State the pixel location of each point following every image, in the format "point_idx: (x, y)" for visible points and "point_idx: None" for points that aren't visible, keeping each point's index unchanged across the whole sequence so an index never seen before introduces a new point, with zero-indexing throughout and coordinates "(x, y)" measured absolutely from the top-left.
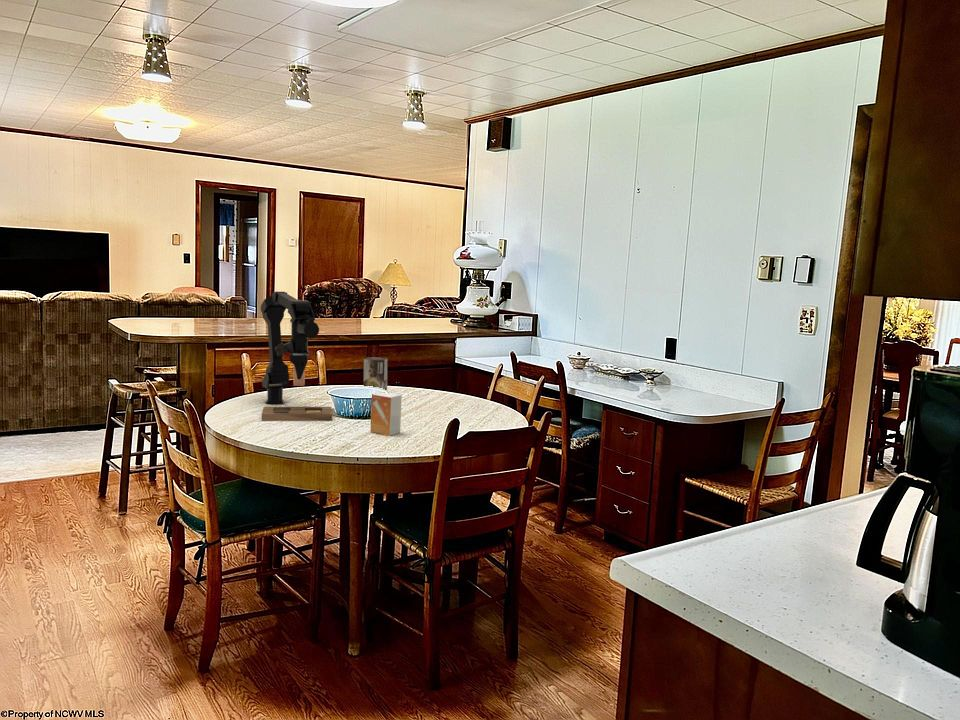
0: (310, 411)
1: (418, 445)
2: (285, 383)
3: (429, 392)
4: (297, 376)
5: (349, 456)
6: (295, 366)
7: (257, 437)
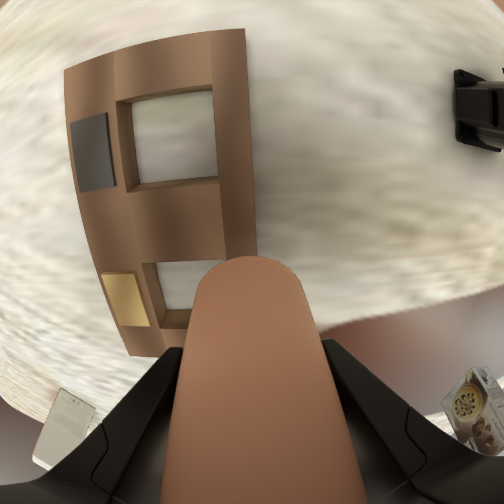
0: (118, 290)
1: (34, 411)
2: None
3: (446, 432)
4: (152, 370)
5: None
6: (55, 471)
7: None
